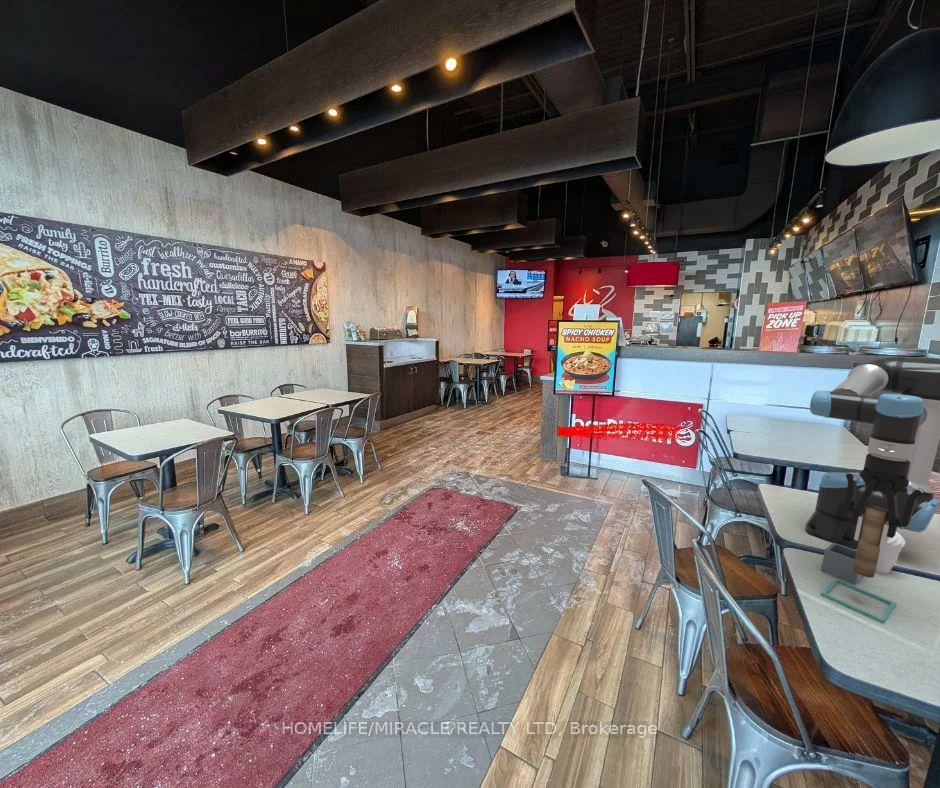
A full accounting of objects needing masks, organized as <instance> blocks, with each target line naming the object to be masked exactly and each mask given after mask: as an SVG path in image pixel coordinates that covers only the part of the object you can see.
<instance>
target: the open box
mask: <svg viewBox="0 0 940 788" xmlns="http://www.w3.org/2000/svg"><path fill="white" fill-rule="evenodd" d="M856 551H857V549H855V548H848V547H845V546H842V545H840V544H837V543H834V542H833V543H831V544H830V545H828V547H826V548H825V549H824V552H823V558H822V564H821V567H820V568H821V569H820V572H822V573H824V574H827V575H829V576H832V577H834V578H837V579H839V580H842V581H844V582H847V583H849V584H851V585H854V586H856V587H857V584H859V582H861V580H862V579H863V578H864V577H865V576H862V575H859V574H857V573H855V572H854V571H853V565H854V561H855V556H856Z"/></svg>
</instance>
